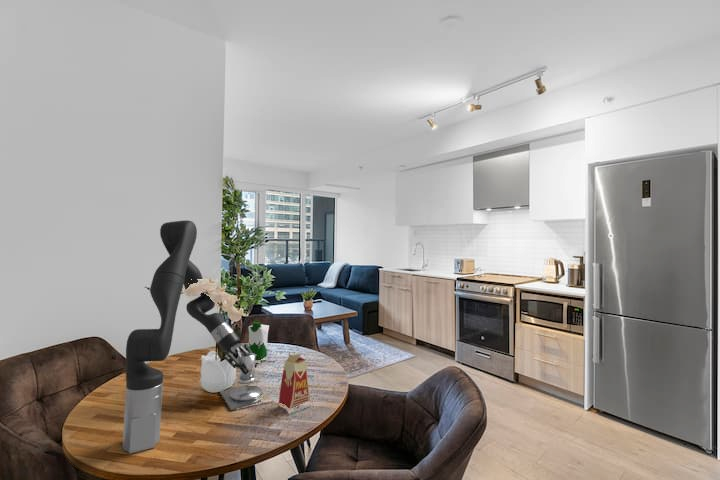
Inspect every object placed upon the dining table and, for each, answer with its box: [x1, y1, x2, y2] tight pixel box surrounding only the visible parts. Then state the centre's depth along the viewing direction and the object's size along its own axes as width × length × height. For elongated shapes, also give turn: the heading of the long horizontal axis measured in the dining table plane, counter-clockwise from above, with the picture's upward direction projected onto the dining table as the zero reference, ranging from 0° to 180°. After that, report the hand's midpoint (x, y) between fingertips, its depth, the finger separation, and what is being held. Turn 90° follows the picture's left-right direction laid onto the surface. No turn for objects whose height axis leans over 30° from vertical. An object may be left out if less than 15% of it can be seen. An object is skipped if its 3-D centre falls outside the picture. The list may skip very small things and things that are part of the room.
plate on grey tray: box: [219, 384, 262, 411], centre depth 133 cm, size 18×16×2 cm
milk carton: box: [278, 353, 311, 409], centre depth 127 cm, size 9×9×20 cm
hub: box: [237, 353, 256, 385], centre depth 133 cm, size 7×7×10 cm
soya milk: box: [247, 321, 270, 360], centre depth 175 cm, size 9×9×20 cm
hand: (251, 370), depth 133 cm, fingers closed on hub, 5 cm apart
